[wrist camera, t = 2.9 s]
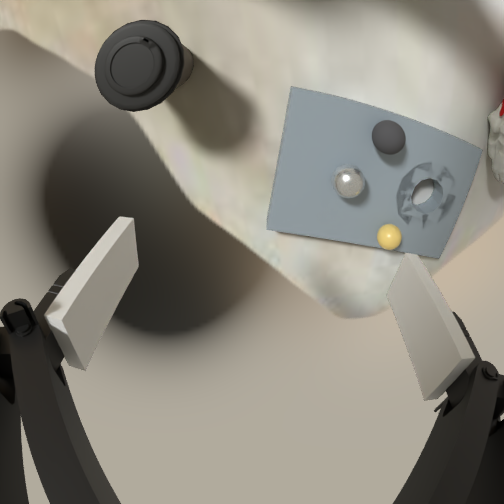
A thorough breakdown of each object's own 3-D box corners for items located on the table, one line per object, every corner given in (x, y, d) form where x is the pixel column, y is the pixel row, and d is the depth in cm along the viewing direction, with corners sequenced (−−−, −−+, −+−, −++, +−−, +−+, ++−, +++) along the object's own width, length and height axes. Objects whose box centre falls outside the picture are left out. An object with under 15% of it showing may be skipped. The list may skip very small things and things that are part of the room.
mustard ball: (370, 238, 34) (377, 252, 32) (378, 217, 32) (386, 230, 30) (391, 242, 34) (399, 256, 32) (399, 221, 33) (409, 234, 30)
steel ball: (324, 186, 31) (330, 200, 28) (332, 156, 29) (339, 166, 26) (354, 193, 31) (363, 206, 28) (363, 163, 29) (373, 174, 26)
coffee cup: (211, 31, 24) (186, 14, 16) (202, 102, 29) (175, 115, 20) (138, 33, 24) (91, 24, 16) (133, 100, 29) (86, 115, 20)
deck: (266, 219, 36) (266, 229, 34) (290, 86, 27) (292, 87, 25) (431, 248, 37) (439, 258, 35) (471, 144, 28) (482, 150, 26)
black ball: (363, 144, 28) (374, 153, 25) (371, 113, 26) (383, 119, 23) (392, 153, 28) (405, 162, 25) (401, 122, 26) (415, 129, 23)
